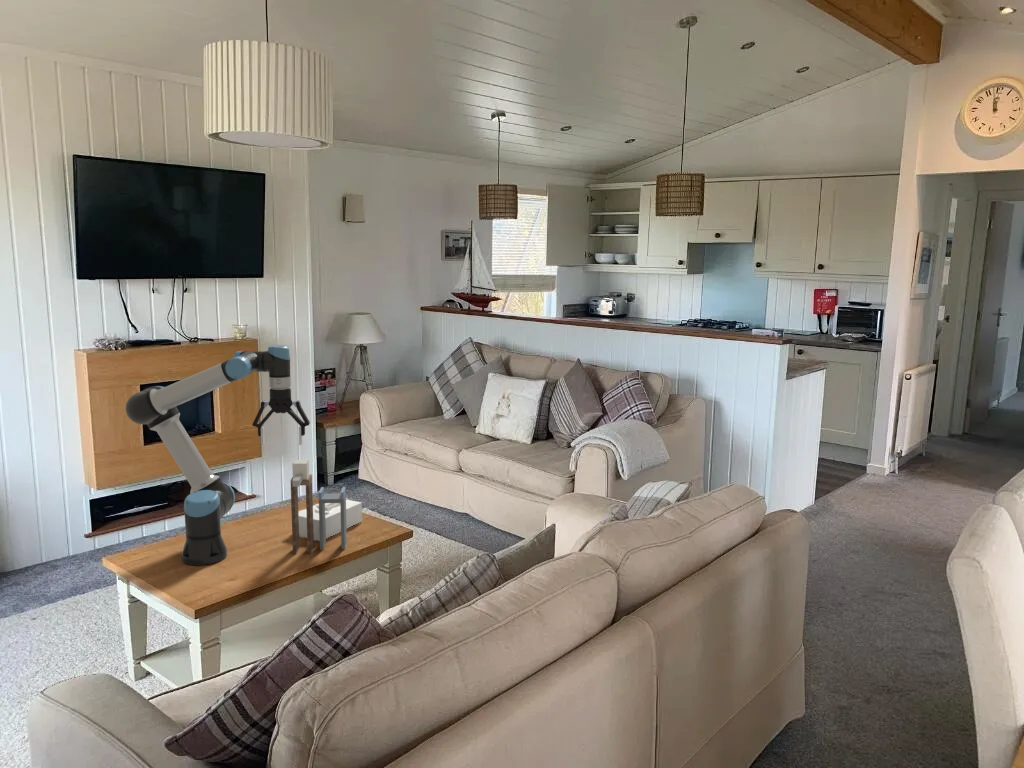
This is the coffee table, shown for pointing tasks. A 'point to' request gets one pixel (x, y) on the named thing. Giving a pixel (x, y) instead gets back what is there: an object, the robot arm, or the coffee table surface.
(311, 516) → the tall stand
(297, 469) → the plug
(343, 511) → the short stand
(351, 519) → the tissue box
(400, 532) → the coffee table surface
